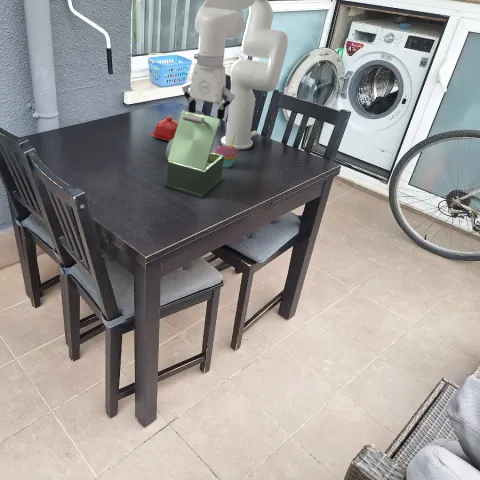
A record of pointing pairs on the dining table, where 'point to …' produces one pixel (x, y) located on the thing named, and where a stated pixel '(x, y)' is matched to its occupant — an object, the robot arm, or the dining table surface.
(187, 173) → the box
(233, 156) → the cupcake
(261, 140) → the dining table surface
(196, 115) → the lid
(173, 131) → the butter dish
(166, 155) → the ceramic mug
